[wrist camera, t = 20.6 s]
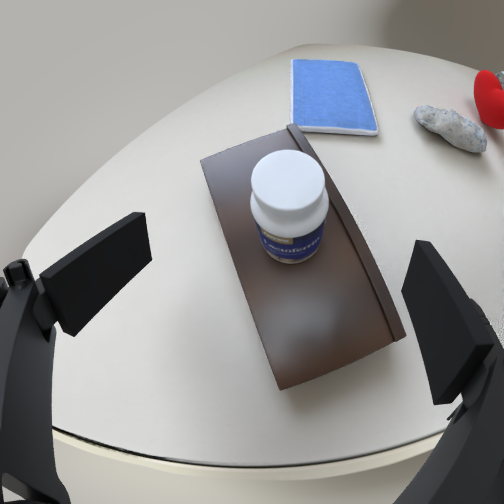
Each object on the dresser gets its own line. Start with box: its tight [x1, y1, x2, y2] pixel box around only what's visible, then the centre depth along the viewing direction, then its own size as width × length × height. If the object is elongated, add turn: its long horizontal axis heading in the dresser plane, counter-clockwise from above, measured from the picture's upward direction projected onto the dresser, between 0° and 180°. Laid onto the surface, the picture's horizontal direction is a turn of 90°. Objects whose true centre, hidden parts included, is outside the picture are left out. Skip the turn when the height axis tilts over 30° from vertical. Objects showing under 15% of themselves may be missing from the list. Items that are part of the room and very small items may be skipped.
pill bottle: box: [250, 150, 329, 264], centre depth 21 cm, size 6×6×10 cm
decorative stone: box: [414, 105, 487, 153], centre depth 29 cm, size 13×7×5 cm, turn 77°
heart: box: [474, 70, 504, 129], centre depth 27 cm, size 12×5×10 cm, turn 4°
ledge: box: [200, 123, 406, 391], centre depth 27 cm, size 26×12×5 cm, turn 20°
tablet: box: [290, 59, 379, 136], centre depth 36 cm, size 19×13×1 cm, turn 175°
